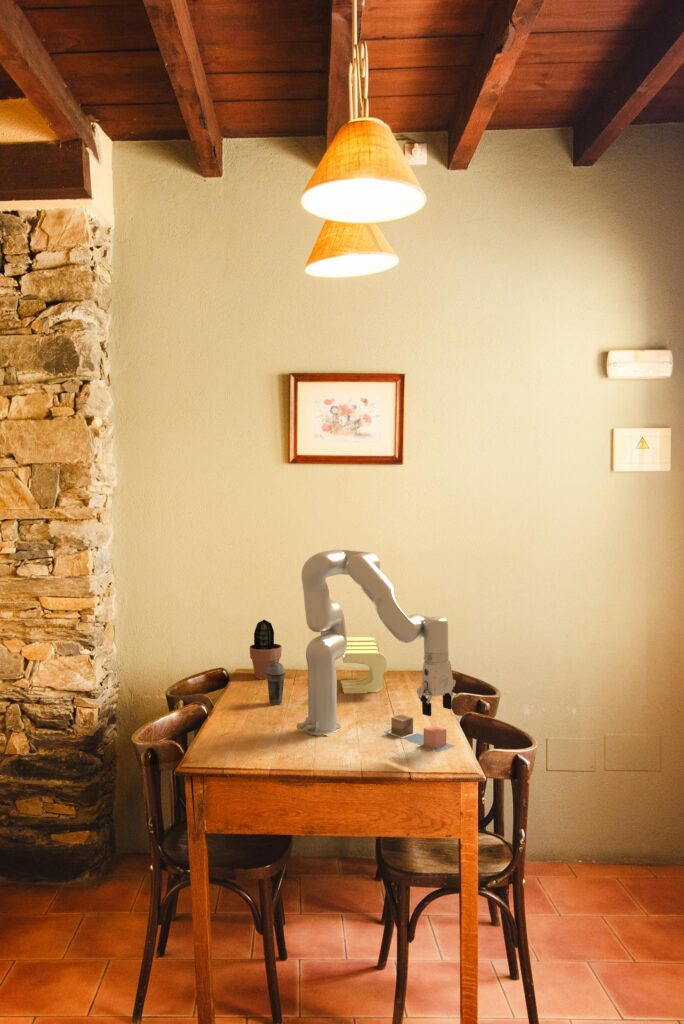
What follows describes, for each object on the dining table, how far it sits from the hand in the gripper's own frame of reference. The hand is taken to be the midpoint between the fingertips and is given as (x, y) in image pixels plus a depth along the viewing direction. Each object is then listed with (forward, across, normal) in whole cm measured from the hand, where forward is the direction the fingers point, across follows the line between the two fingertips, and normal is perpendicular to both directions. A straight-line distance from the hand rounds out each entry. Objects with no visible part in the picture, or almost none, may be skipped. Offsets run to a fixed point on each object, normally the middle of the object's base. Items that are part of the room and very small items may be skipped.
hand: (437, 711), depth 224 cm
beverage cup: (+10, -10, +70) cm, 72 cm away
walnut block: (+10, 0, +15) cm, 18 cm away
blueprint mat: (+11, 0, +8) cm, 14 cm away
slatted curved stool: (+10, +29, +64) cm, 71 cm away
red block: (+10, 0, +1) cm, 10 cm away
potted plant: (+9, +10, +104) cm, 105 cm away
